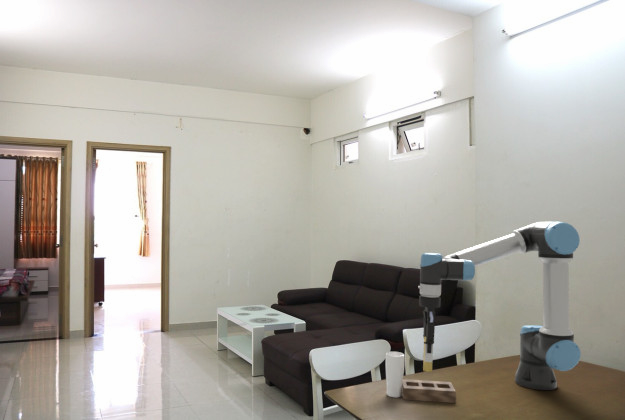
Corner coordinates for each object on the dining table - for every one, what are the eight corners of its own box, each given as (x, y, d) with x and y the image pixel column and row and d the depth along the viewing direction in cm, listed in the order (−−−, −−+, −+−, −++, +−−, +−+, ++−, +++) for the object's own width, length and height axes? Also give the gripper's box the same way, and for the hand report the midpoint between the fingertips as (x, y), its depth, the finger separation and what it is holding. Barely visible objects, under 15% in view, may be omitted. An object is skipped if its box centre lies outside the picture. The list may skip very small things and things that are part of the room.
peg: (431, 369, 179) (432, 336, 179) (432, 372, 176) (434, 338, 176) (422, 369, 179) (423, 336, 179) (423, 371, 176) (425, 338, 176)
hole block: (450, 392, 181) (450, 382, 181) (455, 402, 171) (455, 391, 171) (401, 389, 183) (401, 379, 183) (403, 399, 173) (403, 388, 173)
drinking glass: (404, 393, 179) (405, 352, 179) (401, 400, 173) (403, 357, 173) (386, 391, 181) (387, 350, 182) (382, 397, 175) (384, 355, 175)
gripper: (417, 291, 186) (415, 353, 186) (422, 298, 171) (419, 366, 170) (437, 293, 185) (435, 355, 185) (444, 299, 170) (441, 367, 169)
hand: (427, 360), depth 178 cm, fingers closed on peg, 3 cm apart
